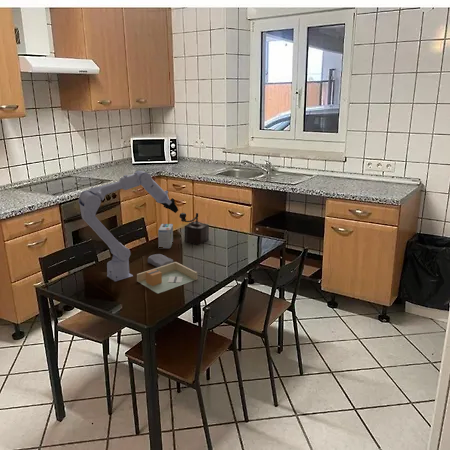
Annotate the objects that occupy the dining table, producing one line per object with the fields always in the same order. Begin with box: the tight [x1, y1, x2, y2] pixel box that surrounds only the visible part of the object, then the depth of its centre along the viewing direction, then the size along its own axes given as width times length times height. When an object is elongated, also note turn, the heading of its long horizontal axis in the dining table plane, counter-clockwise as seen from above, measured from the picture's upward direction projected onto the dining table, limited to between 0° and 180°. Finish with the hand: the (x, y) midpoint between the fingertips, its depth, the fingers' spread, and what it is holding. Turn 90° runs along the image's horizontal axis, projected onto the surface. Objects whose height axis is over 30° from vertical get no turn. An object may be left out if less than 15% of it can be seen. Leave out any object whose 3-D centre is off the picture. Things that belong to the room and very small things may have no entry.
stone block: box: [147, 253, 174, 268], centre depth 220 cm, size 12×5×10 cm
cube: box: [146, 268, 162, 286], centre depth 198 cm, size 5×5×5 cm
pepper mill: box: [179, 212, 210, 246], centre depth 248 cm, size 16×11×18 cm
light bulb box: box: [157, 223, 174, 249], centre depth 243 cm, size 11×7×11 cm, turn 178°
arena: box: [136, 261, 198, 294], centre depth 201 cm, size 22×16×4 cm
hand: (173, 209), depth 211 cm, fingers open, 7 cm apart
